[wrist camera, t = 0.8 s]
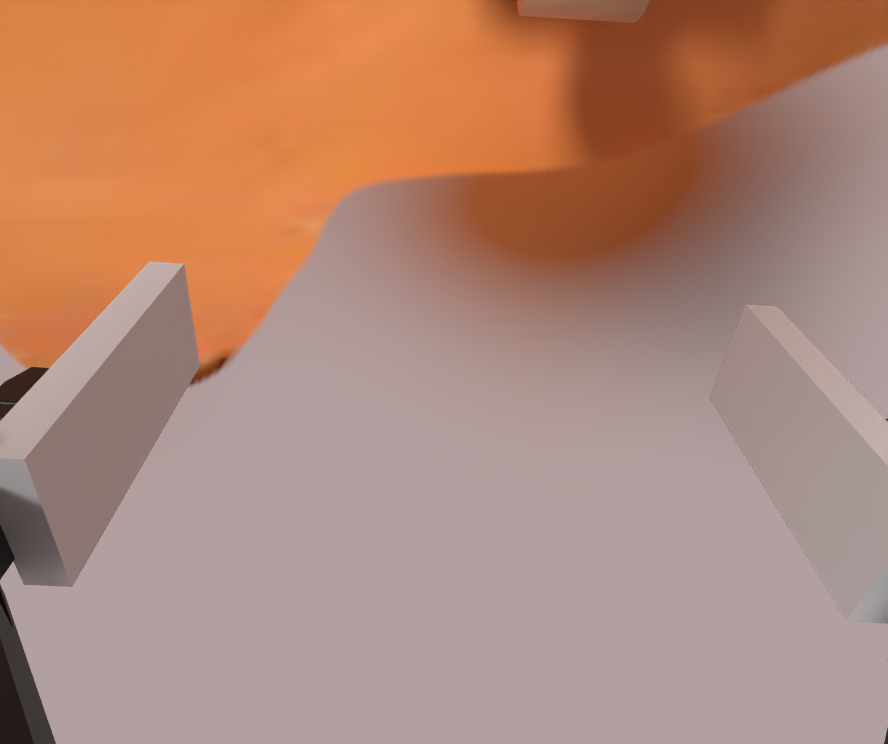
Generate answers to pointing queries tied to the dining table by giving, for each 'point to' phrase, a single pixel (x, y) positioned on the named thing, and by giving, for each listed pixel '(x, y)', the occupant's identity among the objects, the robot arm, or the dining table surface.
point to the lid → (585, 9)
